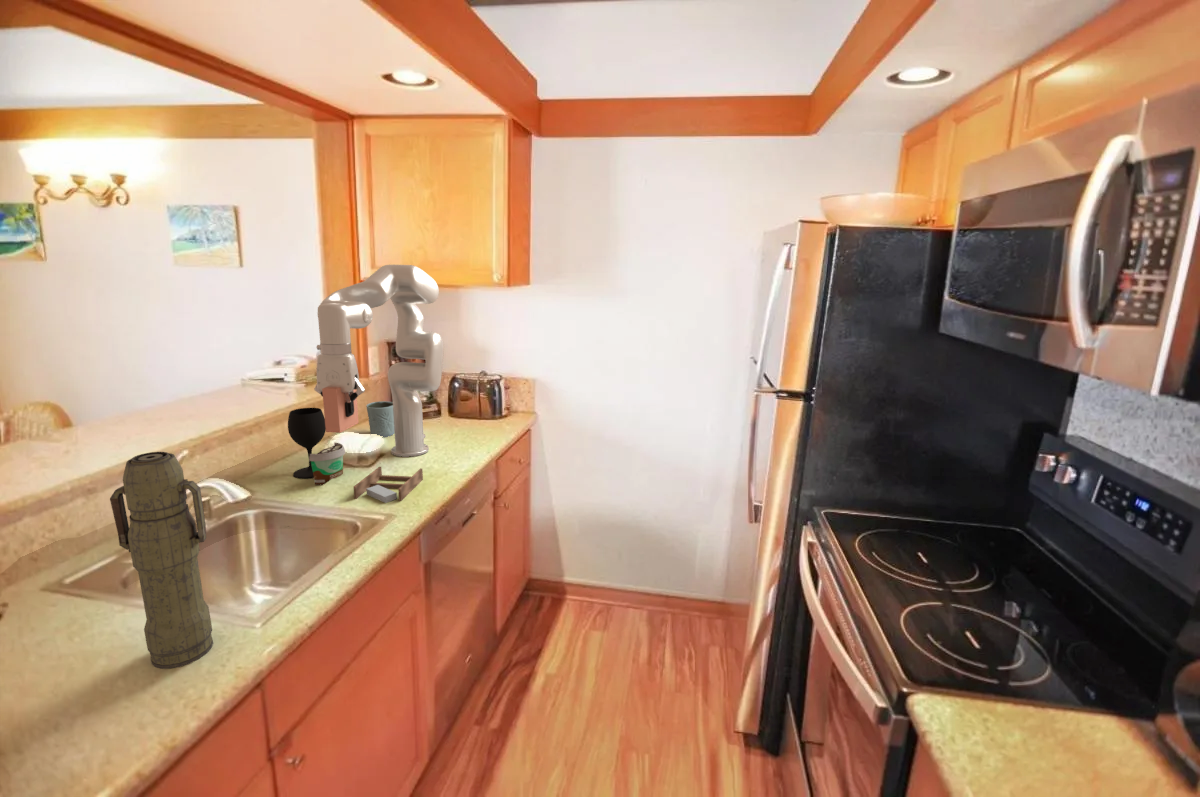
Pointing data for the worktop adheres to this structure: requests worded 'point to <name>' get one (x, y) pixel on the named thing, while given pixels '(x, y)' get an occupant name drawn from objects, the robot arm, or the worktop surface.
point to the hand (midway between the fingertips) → (341, 414)
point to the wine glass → (306, 433)
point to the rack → (377, 475)
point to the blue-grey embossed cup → (381, 418)
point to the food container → (327, 464)
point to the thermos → (165, 556)
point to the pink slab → (337, 410)
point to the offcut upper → (381, 493)
